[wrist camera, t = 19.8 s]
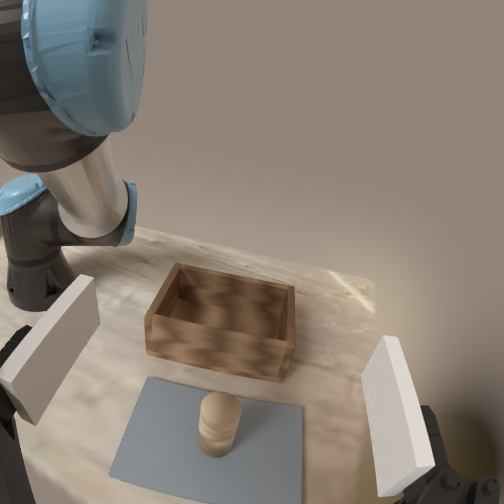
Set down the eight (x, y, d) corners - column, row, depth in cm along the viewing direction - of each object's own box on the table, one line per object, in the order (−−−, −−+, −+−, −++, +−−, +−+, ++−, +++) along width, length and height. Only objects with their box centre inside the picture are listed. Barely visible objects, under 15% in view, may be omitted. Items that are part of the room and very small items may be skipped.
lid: (110, 477, 29) (91, 442, 24) (148, 382, 44) (144, 333, 39) (297, 514, 29) (327, 489, 24) (299, 411, 44) (321, 367, 39)
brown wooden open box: (146, 354, 48) (144, 316, 45) (174, 297, 62) (175, 262, 59) (282, 382, 48) (295, 348, 44) (284, 320, 62) (294, 286, 59)
